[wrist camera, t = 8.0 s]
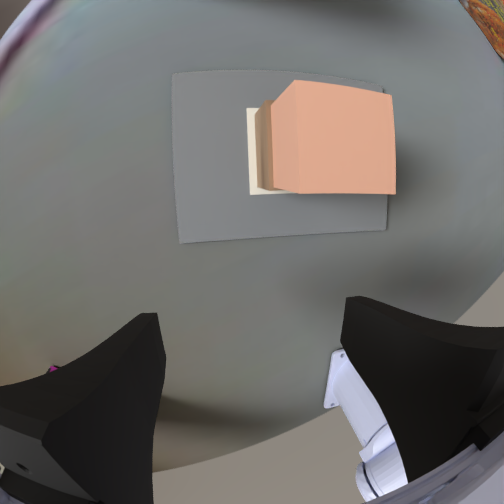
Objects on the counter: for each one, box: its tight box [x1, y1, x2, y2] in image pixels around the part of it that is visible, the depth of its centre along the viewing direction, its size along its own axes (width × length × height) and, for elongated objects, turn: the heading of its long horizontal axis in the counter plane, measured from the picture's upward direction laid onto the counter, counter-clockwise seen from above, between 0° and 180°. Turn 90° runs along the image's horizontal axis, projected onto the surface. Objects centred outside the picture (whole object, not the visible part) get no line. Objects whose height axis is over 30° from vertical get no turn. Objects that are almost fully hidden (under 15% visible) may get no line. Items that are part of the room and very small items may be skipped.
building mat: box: [172, 70, 387, 244], centre depth 18 cm, size 16×12×1 cm
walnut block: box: [254, 100, 282, 191], centre depth 16 cm, size 5×5×4 cm
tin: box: [459, 0, 504, 59], centre depth 12 cm, size 15×3×8 cm, turn 49°
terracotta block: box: [271, 80, 396, 194], centre depth 12 cm, size 4×4×4 cm
